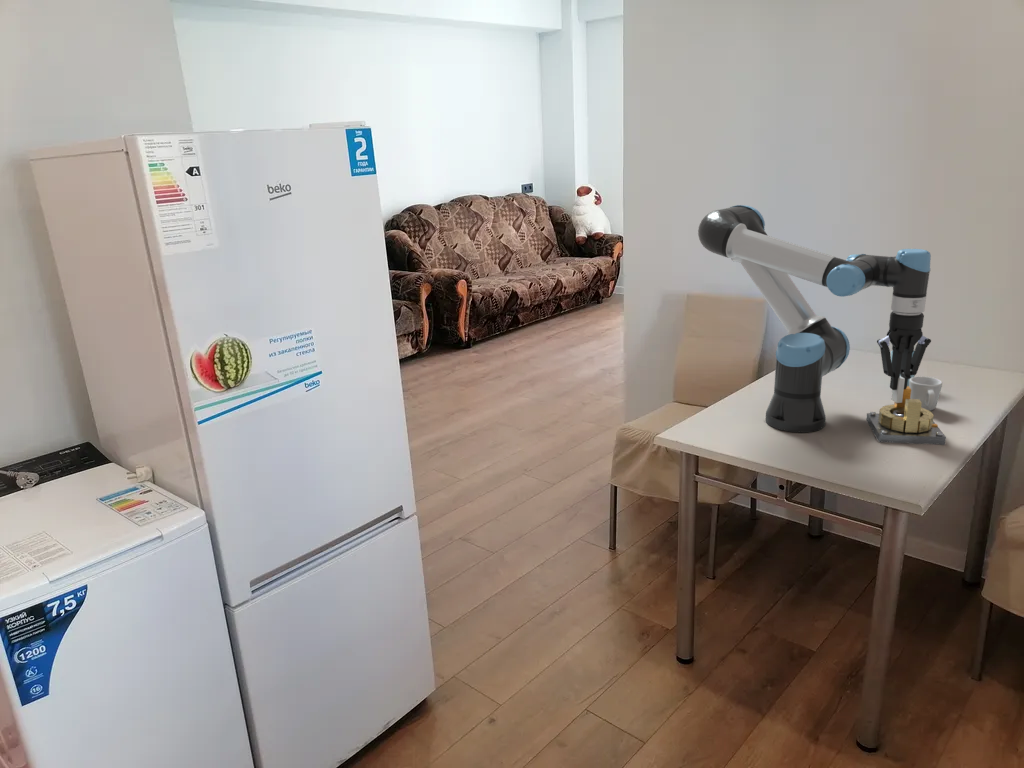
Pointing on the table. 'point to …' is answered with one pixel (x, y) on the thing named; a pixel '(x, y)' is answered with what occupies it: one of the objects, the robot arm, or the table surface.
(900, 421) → the ring nut
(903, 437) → the flange
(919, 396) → the cup
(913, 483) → the table surface
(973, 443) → the table surface
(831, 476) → the table surface
